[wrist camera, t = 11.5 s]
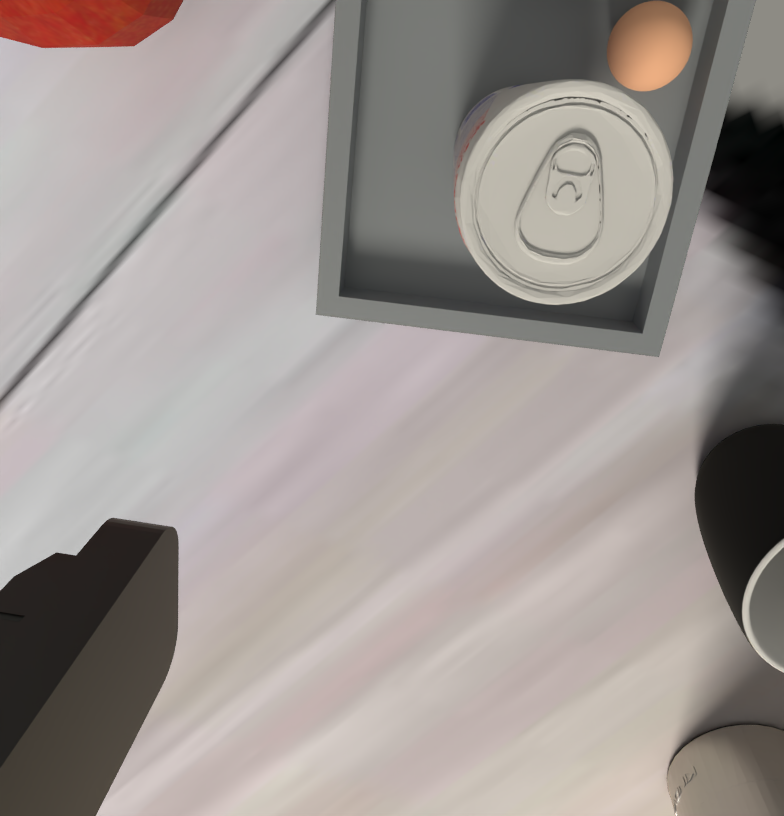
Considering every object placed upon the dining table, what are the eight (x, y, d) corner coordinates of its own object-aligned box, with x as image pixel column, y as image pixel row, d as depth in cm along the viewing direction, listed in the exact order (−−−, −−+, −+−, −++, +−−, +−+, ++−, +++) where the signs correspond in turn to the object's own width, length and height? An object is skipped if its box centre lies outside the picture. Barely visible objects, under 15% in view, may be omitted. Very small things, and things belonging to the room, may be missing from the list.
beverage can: (485, 240, 33) (509, 343, 20) (431, 126, 31) (415, 151, 18) (600, 182, 32) (711, 249, 18) (550, 59, 30) (632, 30, 16)
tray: (743, -37, 29) (769, -49, 26) (645, 340, 35) (658, 357, 33) (350, -79, 29) (341, -94, 27) (324, 300, 36) (316, 314, 33)
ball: (687, 10, 29) (714, 0, 26) (667, 95, 30) (691, 95, 27) (609, 1, 29) (627, -9, 26) (592, 87, 30) (607, 86, 27)
